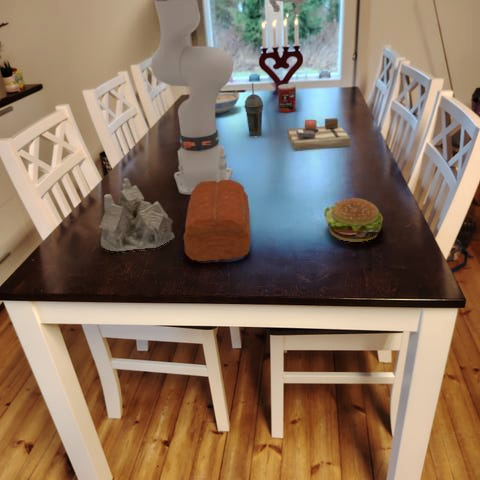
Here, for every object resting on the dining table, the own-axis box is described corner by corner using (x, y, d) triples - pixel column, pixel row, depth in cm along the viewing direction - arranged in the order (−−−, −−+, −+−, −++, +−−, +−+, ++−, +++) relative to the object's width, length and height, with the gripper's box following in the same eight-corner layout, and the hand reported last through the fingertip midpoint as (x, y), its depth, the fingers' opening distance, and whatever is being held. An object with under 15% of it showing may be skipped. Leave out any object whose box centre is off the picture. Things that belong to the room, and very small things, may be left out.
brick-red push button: (317, 128, 171) (317, 122, 170) (305, 129, 171) (305, 123, 170) (315, 125, 175) (315, 119, 173) (303, 126, 175) (303, 120, 173)
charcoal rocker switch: (314, 137, 165) (315, 133, 165) (298, 136, 165) (298, 132, 164) (312, 133, 169) (313, 130, 168) (296, 132, 168) (296, 129, 168)
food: (328, 215, 122) (329, 187, 117) (384, 222, 117) (387, 193, 113) (316, 241, 111) (317, 212, 107) (377, 250, 106) (380, 219, 102)
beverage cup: (265, 131, 186) (263, 80, 176) (264, 137, 180) (261, 84, 170) (246, 132, 187) (243, 80, 177) (245, 138, 181) (242, 85, 170)
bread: (249, 209, 128) (246, 173, 123) (252, 262, 105) (249, 220, 100) (193, 212, 129) (188, 177, 123) (184, 266, 106) (178, 225, 100)
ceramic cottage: (92, 242, 117) (82, 188, 109) (146, 220, 127) (141, 169, 119) (127, 267, 108) (119, 210, 100) (182, 241, 118) (179, 188, 110)
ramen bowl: (182, 119, 209) (180, 100, 205) (198, 105, 228) (196, 88, 224) (236, 119, 203) (235, 100, 199) (248, 105, 222) (247, 88, 218)
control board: (349, 146, 165) (350, 136, 163) (293, 150, 165) (293, 141, 163) (339, 132, 179) (339, 123, 177) (287, 136, 179) (287, 127, 177)
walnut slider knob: (337, 127, 173) (337, 119, 172) (325, 128, 173) (326, 120, 172) (336, 125, 175) (336, 118, 173) (324, 126, 175) (325, 119, 173)
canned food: (276, 113, 208) (276, 87, 202) (280, 108, 214) (280, 83, 209) (293, 113, 206) (293, 87, 200) (297, 108, 212) (297, 83, 207)
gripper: (252, -26, 164) (260, 13, 173) (297, -23, 151) (303, 19, 161) (263, -34, 166) (271, 6, 176) (309, -31, 154) (314, 11, 164)
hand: (286, 12), depth 168 cm, fingers open, 8 cm apart
